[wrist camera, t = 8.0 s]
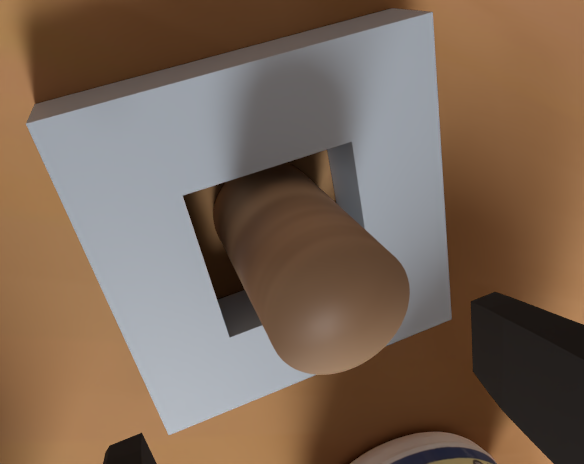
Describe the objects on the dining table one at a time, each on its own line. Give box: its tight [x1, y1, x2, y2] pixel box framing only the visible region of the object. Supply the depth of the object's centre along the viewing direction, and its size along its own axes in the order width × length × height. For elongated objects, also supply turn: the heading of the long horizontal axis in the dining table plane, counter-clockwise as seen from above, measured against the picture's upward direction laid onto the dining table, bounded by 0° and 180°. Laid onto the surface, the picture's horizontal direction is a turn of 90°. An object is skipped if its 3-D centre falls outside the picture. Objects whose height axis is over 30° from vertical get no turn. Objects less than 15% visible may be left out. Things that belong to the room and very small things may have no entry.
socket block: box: [26, 8, 452, 435], centre depth 19 cm, size 12×12×2 cm
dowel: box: [213, 163, 410, 375], centre depth 17 cm, size 4×4×7 cm
